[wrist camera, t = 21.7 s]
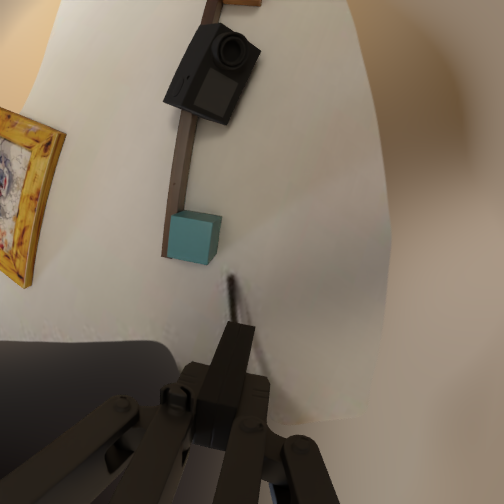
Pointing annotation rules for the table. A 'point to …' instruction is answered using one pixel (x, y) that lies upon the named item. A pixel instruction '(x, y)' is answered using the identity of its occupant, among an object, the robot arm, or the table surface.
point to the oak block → (243, 2)
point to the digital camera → (212, 73)
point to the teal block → (194, 236)
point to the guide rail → (185, 145)
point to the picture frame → (24, 190)
